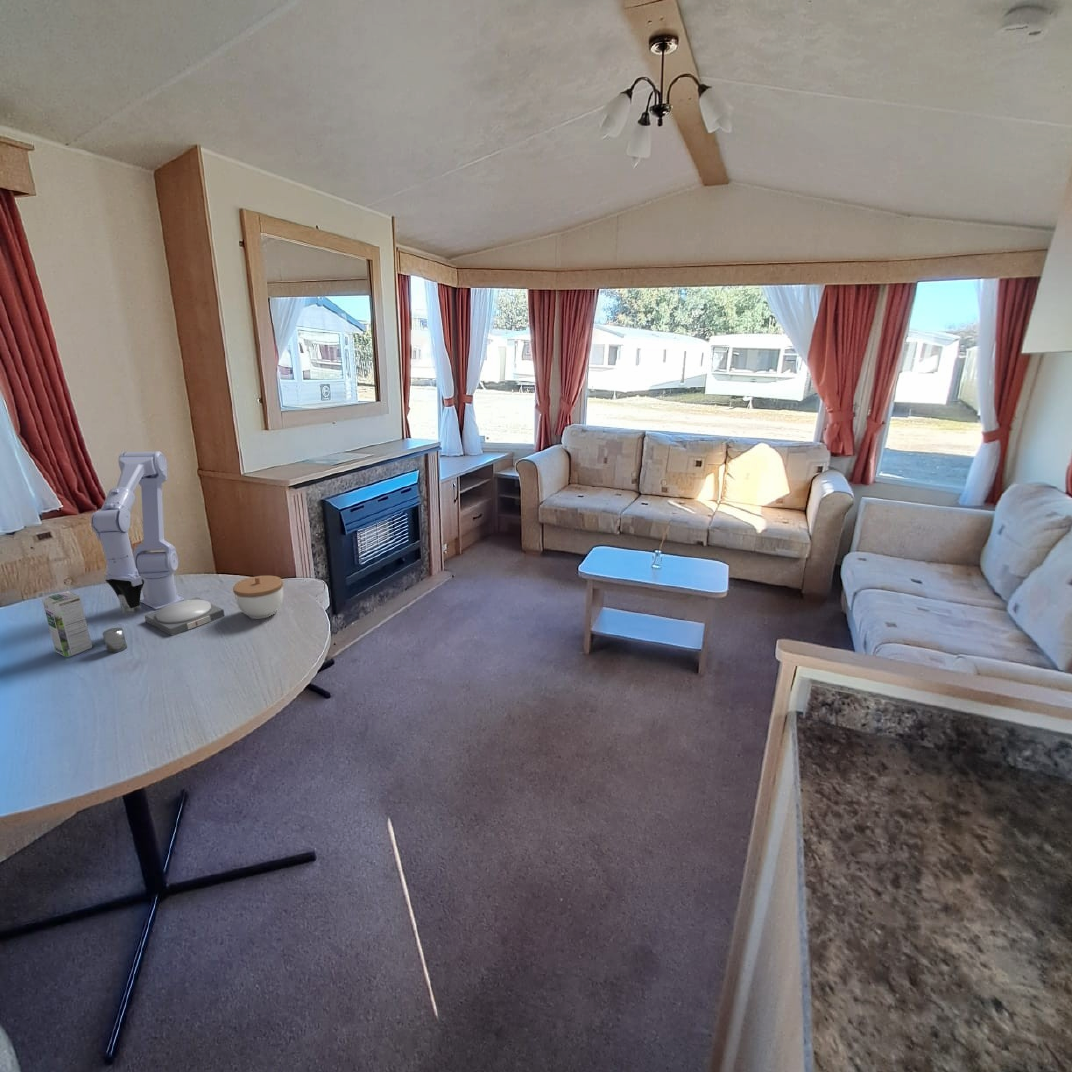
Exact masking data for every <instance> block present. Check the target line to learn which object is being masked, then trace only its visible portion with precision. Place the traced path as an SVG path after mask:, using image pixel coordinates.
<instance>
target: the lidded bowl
mask: <svg viewBox="0 0 1072 1072" xmlns="http://www.w3.org/2000/svg"><path fill="white" fill-rule="evenodd" d="M232 590H233V591H232V592H233V594H234V599H235V603H236V605H237V608H238V609H239V610H240V611H241V612H242V613H243V614H244V615H246V616H248V618H250V619H254V620H261V619H267V618H270V617H272V616H274V615H276V613H277V611H278V609H279V608H280V607H281V605H282V604H283V601H284V581H283V579H282V578H281V577H280V576H275V575H257V576H252V577H248V578H245V579H242V580H240V581H238V582H236V583H235V584H234V585H233V587H232ZM273 614H274V615H273ZM271 615H272V616H271ZM269 616H270V617H269Z"/></svg>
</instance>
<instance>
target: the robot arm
mask: <svg viewBox="0 0 1072 1072" xmlns="http://www.w3.org/2000/svg"><path fill="white" fill-rule="evenodd" d="M118 466H119V470H120V472H121V473H120V476H119V478H118V482H117V485H116V487H112V488H111V489H110V490H109V491H108V493H107V495H106V498H105V499H104V502H103V504H102V506H101V508H100V509H99V510H97V511H95V512H93V513H92V515H91V519H90V523H91V525H90V527H91V529H92V531H93V532H94V533H95V535H96V539H97V540H98V541H100V543H101V547H102V551H103V555H104V559H105V563H106V566H105V570H106V574H105V575H103V578H104V579H105V582H106V583H107V584H108V585H109V586H110V587H111V588H112V590H113V591H114V592H115V595H116V596H117V598H118V599H119V597H118V595H119V594H120V593H123V595H124V597H125V599H126V601H127V604H128V606H129V607H130V608H134V607H137V606H139V605H140V606H141V604H140V603H143V605H144V604H145V605H146V606H148V607H151V608H152V609H154V610H160V609H161V608H163V607H165V606H167V605H170V604H173V603H176V602H180V601H186V600H185V598H183V597H182V596H181V595H180V596H179V595H178V590H177V586H176V585H177V584H176V580H175V575H174V573H175V572H176V570H177V569H178V567H179V558H178V554H177V551H176V550H177V549H176V546H175V545H173V544H172V543H170V542H168V541H166V539H165V531H164V530H165V527H164V507H163V506H164V503H163V483H165V482H167V480H168V462H167V459H166V456H165V455H164V454H163V453H162V452H161V451H159V450H156V451H122V452H121V453H120V455H119V457H118ZM138 485H139V486H140V488H141V489H140V490H141V508H142V509H141V510H142V511H141V513H142V533H143V541H142V542H141V543H140V544H138V545H137V546H136V547H135V548H133V549H134V550H132V544H131V541H130V536H129V529H130V527H131V518H132V514H131V511H132V507H133V505H134V503H135V502H136V496H135V494H134V491H135V490H136V488H137V486H138ZM141 594H142V599H141Z"/></svg>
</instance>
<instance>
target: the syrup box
mask: <svg viewBox="0 0 1072 1072" xmlns="http://www.w3.org/2000/svg"><path fill="white" fill-rule="evenodd" d="M41 602H42V605H43V609H44V611H45V612H44V613H45V616H46V621H47V624H48V628H49V632H50V636H51V640H52V643H53V646H54V650H55V653H57V654H59V655H62V656H63V657H65V658H69V657H73V656H74V655H78V654H80V653H83V652H85V651H88V650H90V649H92V648H93V645H92V644H93V643H92V640H91V636H90V631H89V628H88V627H89V626H88V625H87V619H86V616H85V611H84V608H83V604H82V599H81V596H80V595H78V594H76V593H73V592H70V591H69V590H67V591H63V592H59V593H55V594H51V595H48V596H46V597H43V598H42V599H41Z"/></svg>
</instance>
